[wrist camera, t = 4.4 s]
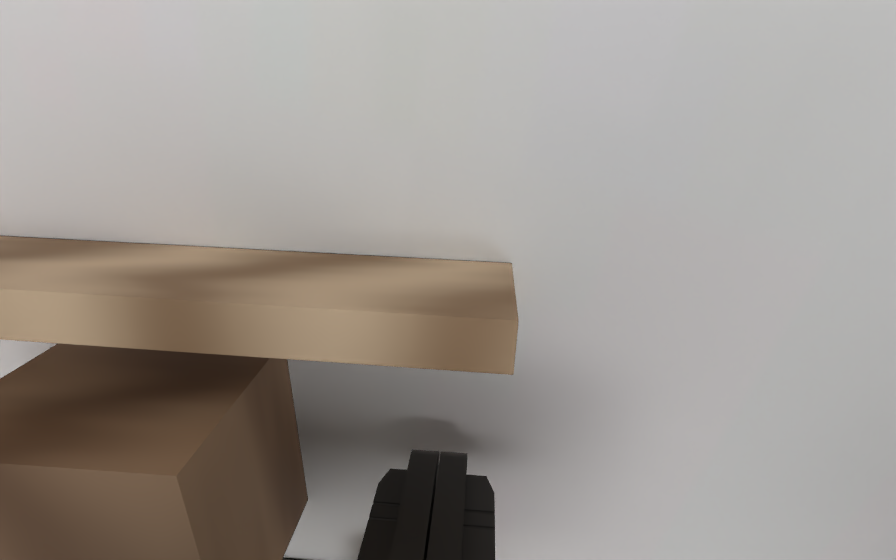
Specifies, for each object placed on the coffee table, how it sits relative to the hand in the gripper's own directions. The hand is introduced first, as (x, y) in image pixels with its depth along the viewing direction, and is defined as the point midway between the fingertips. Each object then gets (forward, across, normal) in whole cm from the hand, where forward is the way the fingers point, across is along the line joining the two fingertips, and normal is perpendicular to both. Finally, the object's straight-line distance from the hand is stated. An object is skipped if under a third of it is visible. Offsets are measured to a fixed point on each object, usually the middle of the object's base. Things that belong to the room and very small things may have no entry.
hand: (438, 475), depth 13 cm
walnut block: (+2, +7, 0) cm, 8 cm away
